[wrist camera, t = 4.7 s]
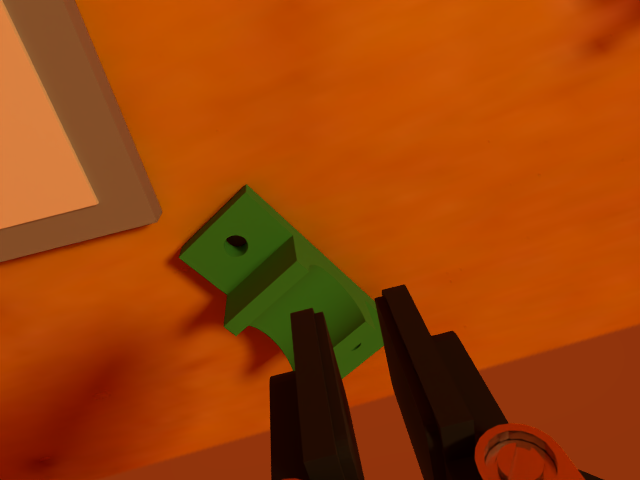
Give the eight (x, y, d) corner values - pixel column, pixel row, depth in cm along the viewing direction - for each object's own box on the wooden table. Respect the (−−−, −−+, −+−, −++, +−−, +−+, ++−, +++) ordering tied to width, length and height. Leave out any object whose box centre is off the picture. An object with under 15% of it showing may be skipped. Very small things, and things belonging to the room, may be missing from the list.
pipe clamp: (417, 363, 22) (347, 418, 23) (396, 318, 26) (336, 368, 27) (242, 213, 18) (166, 288, 19) (245, 183, 22) (180, 248, 23)
